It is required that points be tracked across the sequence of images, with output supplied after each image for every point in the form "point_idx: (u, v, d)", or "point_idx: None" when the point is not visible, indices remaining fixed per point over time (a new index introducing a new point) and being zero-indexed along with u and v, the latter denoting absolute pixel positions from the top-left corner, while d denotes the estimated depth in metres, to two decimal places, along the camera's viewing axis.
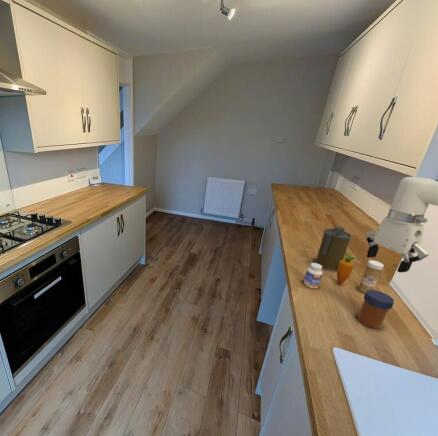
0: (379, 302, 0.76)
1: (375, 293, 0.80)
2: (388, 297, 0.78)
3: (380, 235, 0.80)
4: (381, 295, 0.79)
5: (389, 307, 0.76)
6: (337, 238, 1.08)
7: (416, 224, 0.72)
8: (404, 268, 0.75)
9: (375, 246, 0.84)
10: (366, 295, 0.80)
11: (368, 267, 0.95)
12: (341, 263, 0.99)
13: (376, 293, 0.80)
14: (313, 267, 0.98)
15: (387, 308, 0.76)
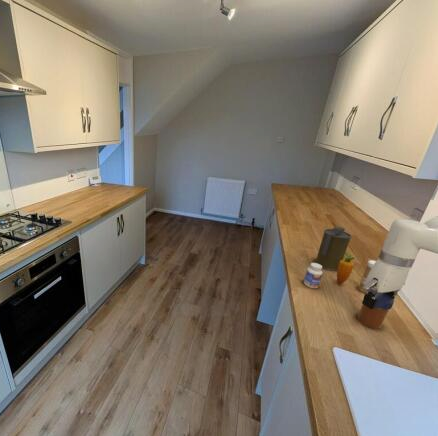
0: (379, 302, 0.76)
1: None
2: (388, 297, 0.78)
3: (388, 284, 0.74)
4: (381, 295, 0.79)
5: (389, 307, 0.76)
6: (337, 238, 1.08)
7: None
8: None
9: None
10: None
11: (368, 267, 0.95)
12: (341, 263, 0.99)
13: None
14: (313, 267, 0.98)
15: (387, 308, 0.76)
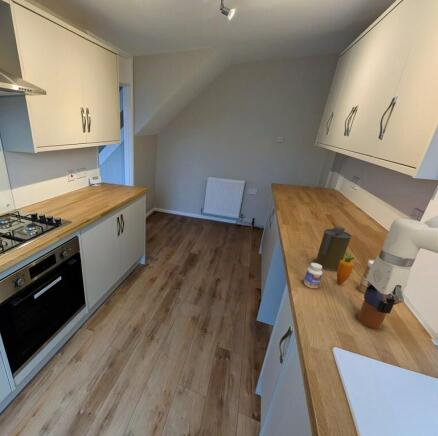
0: None
1: (375, 295, 0.79)
2: None
3: None
4: (378, 294, 0.79)
5: None
6: (337, 238, 1.08)
7: None
8: None
9: None
10: (377, 301, 0.77)
11: (368, 267, 0.95)
12: (341, 263, 0.99)
13: (374, 294, 0.79)
14: (313, 267, 0.98)
15: None
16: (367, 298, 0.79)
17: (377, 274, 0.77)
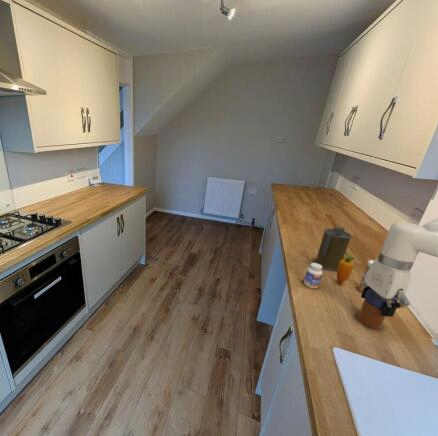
0: (393, 302, 0.76)
1: (376, 295, 0.78)
2: None
3: None
4: (378, 294, 0.79)
5: None
6: (337, 238, 1.08)
7: None
8: None
9: None
10: (381, 303, 0.76)
11: (368, 267, 0.95)
12: (341, 263, 0.99)
13: (375, 294, 0.79)
14: (313, 267, 0.98)
15: None
16: (370, 300, 0.78)
17: (377, 278, 0.77)
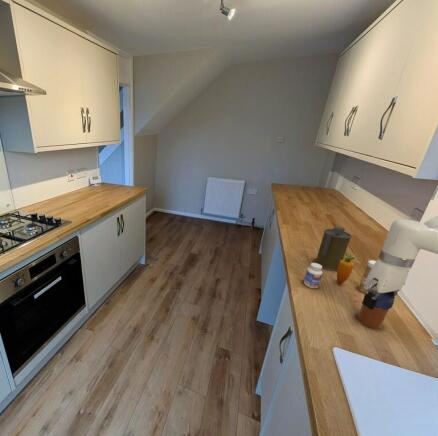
0: (393, 302, 0.76)
1: None
2: None
3: (388, 284, 0.74)
4: None
5: None
6: (337, 238, 1.08)
7: None
8: None
9: None
10: (381, 303, 0.76)
11: (368, 267, 0.95)
12: (341, 263, 0.99)
13: None
14: (313, 267, 0.98)
15: None
16: None
17: None
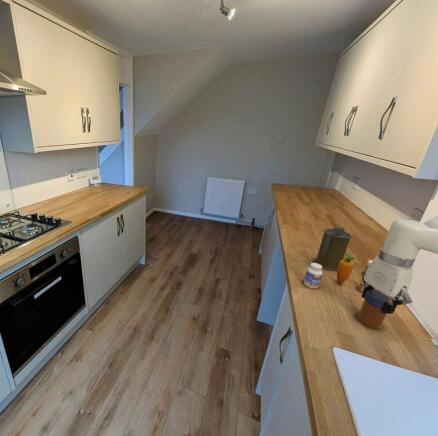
0: None
1: (383, 297, 0.77)
2: (370, 292, 0.80)
3: None
4: (377, 295, 0.79)
5: None
6: (337, 238, 1.08)
7: None
8: None
9: None
10: None
11: None
12: (341, 263, 0.99)
13: (381, 297, 0.77)
14: (313, 267, 0.98)
15: None
16: None
17: (379, 276, 0.76)
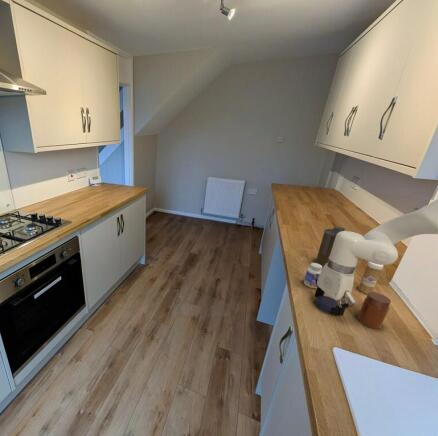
0: None
1: (330, 303, 0.87)
2: (320, 298, 0.90)
3: None
4: (325, 300, 0.88)
5: None
6: None
7: None
8: None
9: None
10: None
11: (368, 267, 0.95)
12: None
13: (328, 303, 0.87)
14: (313, 267, 0.98)
15: None
16: (333, 310, 0.85)
17: (327, 281, 0.85)
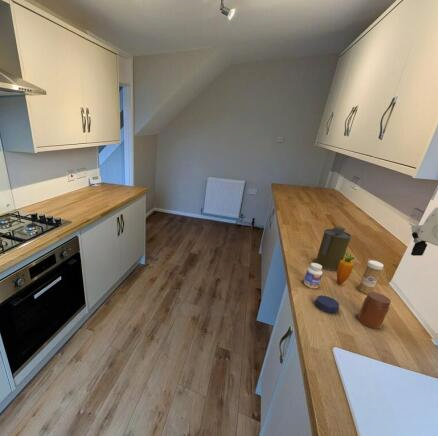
0: None
1: (330, 303, 0.87)
2: (320, 298, 0.90)
3: None
4: (325, 300, 0.88)
5: None
6: (337, 238, 1.08)
7: None
8: None
9: None
10: (338, 307, 0.86)
11: (368, 267, 0.95)
12: (341, 263, 0.99)
13: (328, 303, 0.87)
14: (313, 267, 0.98)
15: None
16: (333, 310, 0.85)
17: None
